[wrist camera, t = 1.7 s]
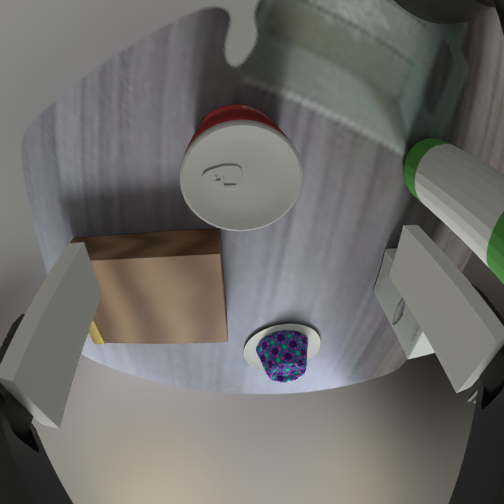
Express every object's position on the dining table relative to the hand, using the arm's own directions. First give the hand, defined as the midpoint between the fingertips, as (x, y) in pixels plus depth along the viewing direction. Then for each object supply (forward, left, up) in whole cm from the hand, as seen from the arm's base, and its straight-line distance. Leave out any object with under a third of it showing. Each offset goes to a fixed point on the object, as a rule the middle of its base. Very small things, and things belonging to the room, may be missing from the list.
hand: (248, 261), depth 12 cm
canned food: (0, 0, -20) cm, 20 cm away
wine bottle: (-22, +2, -20) cm, 30 cm away
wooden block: (+11, +16, -20) cm, 27 cm away
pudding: (-6, +31, -20) cm, 37 cm away
